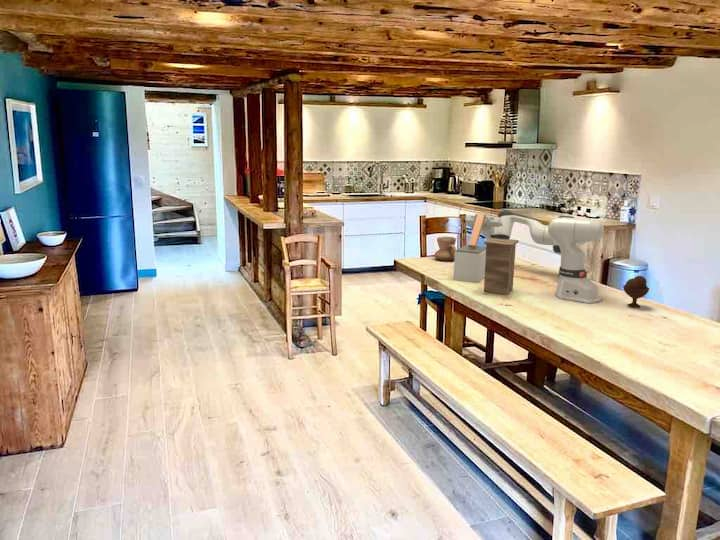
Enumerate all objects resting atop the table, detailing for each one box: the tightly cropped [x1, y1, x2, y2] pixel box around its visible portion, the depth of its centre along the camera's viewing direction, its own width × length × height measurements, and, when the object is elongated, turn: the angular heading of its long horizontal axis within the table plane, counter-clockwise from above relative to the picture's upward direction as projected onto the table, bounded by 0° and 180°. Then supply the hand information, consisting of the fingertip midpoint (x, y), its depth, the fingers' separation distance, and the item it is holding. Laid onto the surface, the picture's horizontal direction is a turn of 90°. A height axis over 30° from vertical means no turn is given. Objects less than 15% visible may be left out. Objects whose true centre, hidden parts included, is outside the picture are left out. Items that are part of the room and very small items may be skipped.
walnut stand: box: [483, 238, 519, 296], centre depth 305 cm, size 14×14×26 cm
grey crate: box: [452, 244, 486, 283], centre depth 333 cm, size 18×14×16 cm
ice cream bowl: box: [622, 275, 650, 309], centre depth 281 cm, size 11×11×15 cm
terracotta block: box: [467, 212, 486, 248], centre depth 336 cm, size 23×4×2 cm
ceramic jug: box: [434, 236, 457, 262], centre depth 380 cm, size 18×14×14 cm
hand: (480, 215), depth 339 cm, fingers closed on terracotta block, 4 cm apart
